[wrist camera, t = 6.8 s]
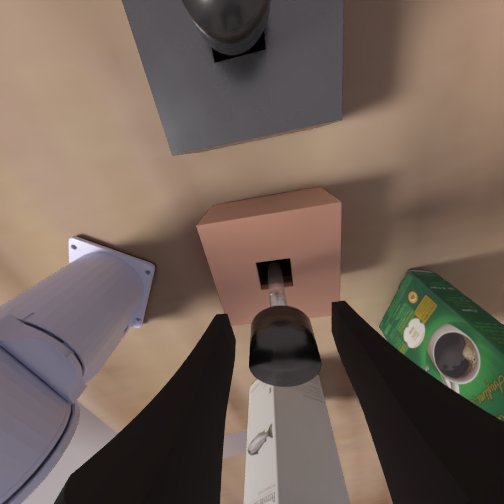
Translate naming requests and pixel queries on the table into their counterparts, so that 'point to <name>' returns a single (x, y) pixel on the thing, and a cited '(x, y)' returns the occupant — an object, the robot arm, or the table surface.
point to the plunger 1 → (229, 23)
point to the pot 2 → (275, 251)
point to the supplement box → (291, 447)
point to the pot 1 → (241, 74)
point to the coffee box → (449, 338)
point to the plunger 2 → (282, 340)
